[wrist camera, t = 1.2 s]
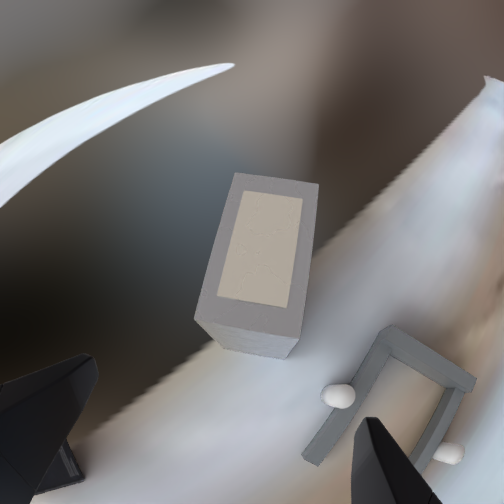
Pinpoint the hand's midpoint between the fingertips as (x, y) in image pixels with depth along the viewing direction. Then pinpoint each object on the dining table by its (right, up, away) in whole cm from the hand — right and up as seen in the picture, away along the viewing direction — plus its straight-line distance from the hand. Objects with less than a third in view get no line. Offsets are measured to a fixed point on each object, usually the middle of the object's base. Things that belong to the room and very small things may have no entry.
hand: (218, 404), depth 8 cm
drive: (+2, +1, +15) cm, 15 cm away
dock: (+11, -9, +10) cm, 17 cm away
